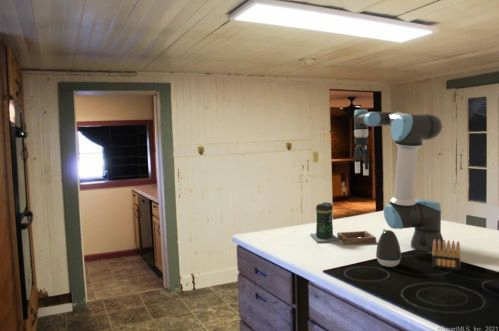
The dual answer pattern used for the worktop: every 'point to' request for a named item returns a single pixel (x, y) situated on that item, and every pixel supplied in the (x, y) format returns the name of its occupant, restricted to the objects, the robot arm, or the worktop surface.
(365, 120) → the robot arm
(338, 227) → the worktop surface
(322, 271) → the worktop surface
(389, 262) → the grey egg shaped container
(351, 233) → the walnut collar
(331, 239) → the slate mat
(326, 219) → the coffee jar
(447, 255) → the ammunition clip
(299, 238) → the worktop surface
